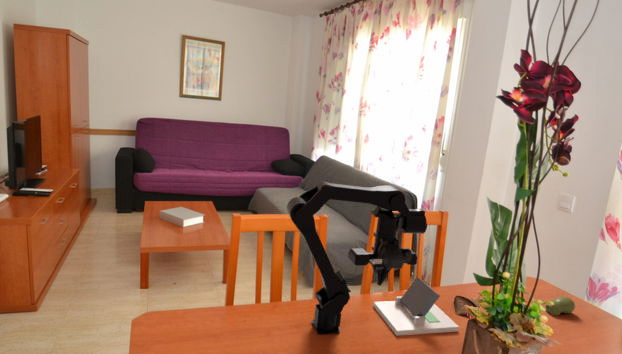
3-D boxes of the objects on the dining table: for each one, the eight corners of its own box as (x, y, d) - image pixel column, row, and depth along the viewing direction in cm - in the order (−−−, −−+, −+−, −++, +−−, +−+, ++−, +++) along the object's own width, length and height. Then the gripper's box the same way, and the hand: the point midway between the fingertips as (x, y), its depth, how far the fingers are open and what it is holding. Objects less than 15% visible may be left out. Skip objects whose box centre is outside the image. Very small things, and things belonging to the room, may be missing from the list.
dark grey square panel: (413, 320, 119) (434, 292, 119) (397, 302, 129) (417, 276, 128) (419, 323, 120) (440, 295, 120) (403, 306, 129) (422, 280, 129)
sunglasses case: (454, 314, 130) (457, 293, 132) (451, 315, 136) (454, 295, 138) (516, 328, 125) (517, 306, 127) (510, 329, 132) (511, 308, 134)
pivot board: (396, 335, 115) (398, 322, 114) (373, 306, 130) (375, 294, 129) (458, 331, 121) (460, 318, 120) (429, 303, 136) (431, 292, 135)
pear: (579, 300, 137) (555, 306, 134) (578, 314, 138) (554, 321, 136) (565, 292, 142) (542, 298, 139) (563, 306, 143) (540, 312, 141)
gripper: (366, 243, 102) (358, 300, 106) (432, 242, 108) (423, 297, 111) (350, 228, 113) (344, 280, 116) (411, 228, 118) (403, 279, 121)
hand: (379, 284), depth 116 cm, fingers closed
